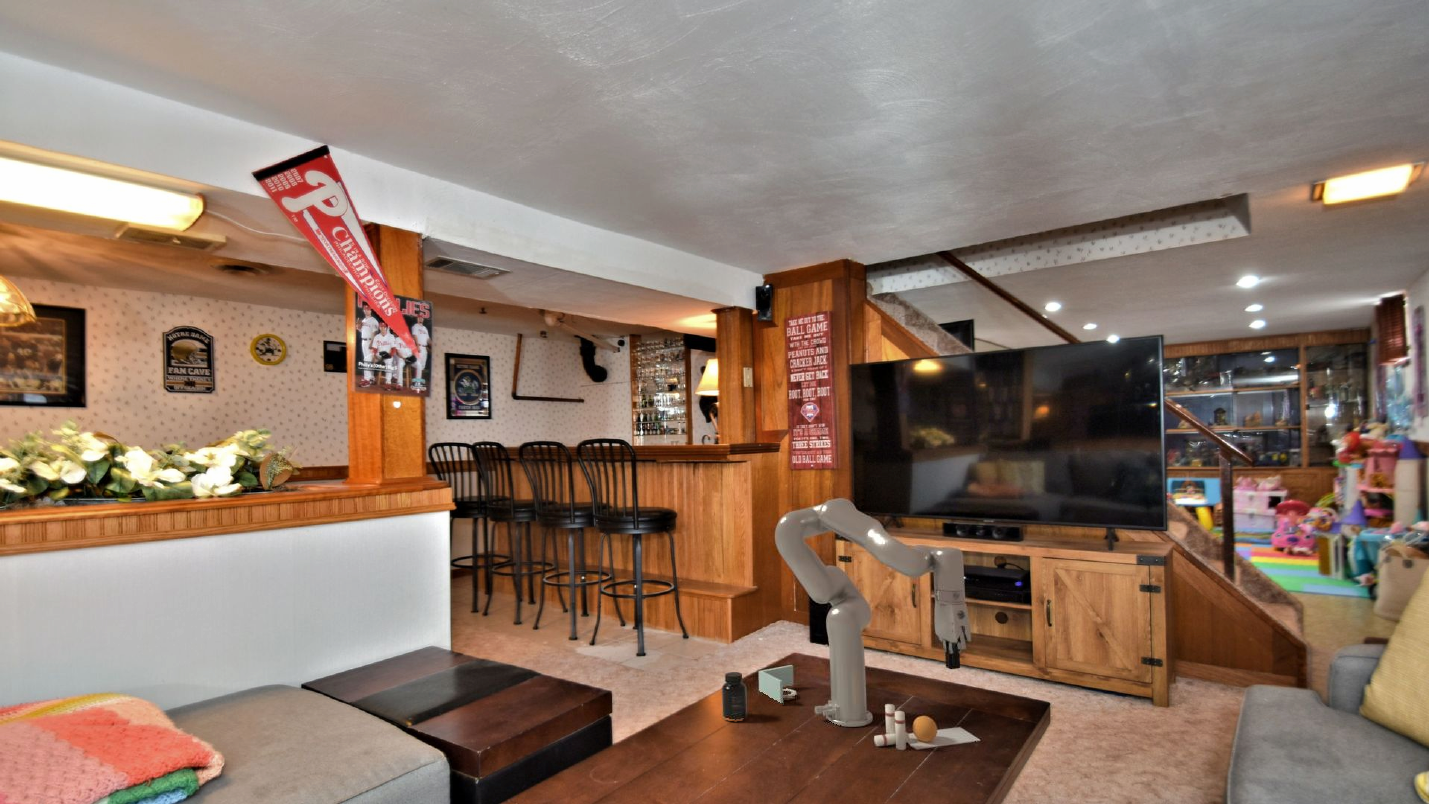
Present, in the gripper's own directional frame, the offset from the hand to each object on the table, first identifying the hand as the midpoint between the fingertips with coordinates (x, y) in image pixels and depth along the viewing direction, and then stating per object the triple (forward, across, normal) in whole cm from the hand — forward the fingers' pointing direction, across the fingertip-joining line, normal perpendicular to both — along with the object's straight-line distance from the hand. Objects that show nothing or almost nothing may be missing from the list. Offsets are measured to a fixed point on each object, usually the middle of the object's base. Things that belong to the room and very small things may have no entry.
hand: (953, 667), depth 183 cm
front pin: (+16, 0, +14) cm, 21 cm away
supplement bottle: (+17, +29, +51) cm, 61 cm away
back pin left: (+17, +2, +17) cm, 24 cm away
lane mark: (+17, 0, +5) cm, 18 cm away
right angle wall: (+18, +42, +31) cm, 55 cm away
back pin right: (+17, -2, +17) cm, 24 cm away
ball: (+14, -1, +9) cm, 17 cm away
